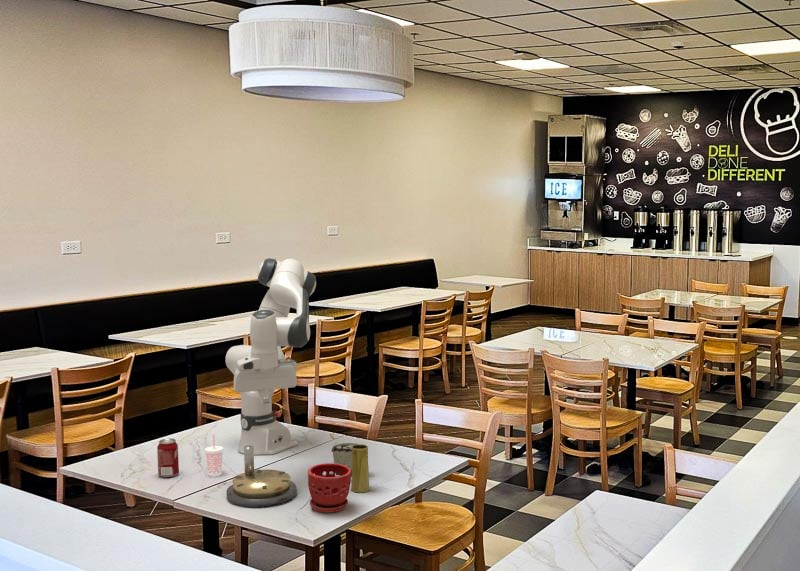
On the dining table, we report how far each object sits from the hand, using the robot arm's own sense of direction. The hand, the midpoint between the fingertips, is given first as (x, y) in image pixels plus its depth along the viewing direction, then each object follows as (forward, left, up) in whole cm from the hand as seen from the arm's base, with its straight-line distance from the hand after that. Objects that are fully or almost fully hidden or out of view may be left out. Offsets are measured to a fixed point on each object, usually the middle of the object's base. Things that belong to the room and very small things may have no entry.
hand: (266, 403), depth 269 cm
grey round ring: (+7, +6, -28) cm, 29 cm away
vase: (-17, +26, -28) cm, 41 cm away
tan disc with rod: (+7, +6, -25) cm, 27 cm away
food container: (-26, +13, -28) cm, 40 cm away
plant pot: (0, +30, -28) cm, 40 cm away
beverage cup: (+5, -22, -28) cm, 36 cm away
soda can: (+16, -33, -28) cm, 46 cm away
